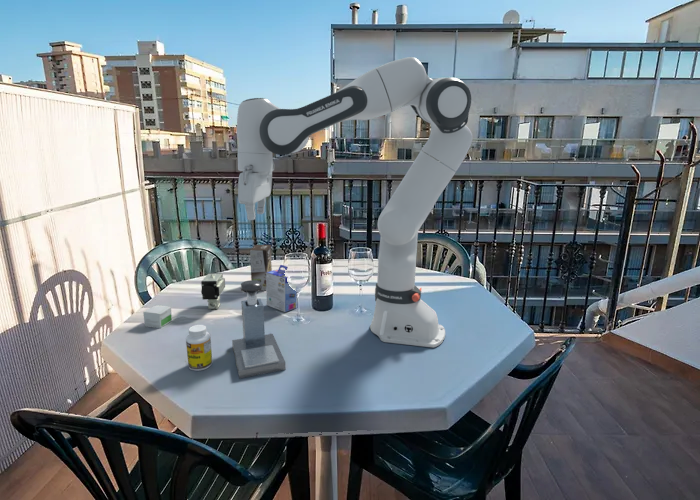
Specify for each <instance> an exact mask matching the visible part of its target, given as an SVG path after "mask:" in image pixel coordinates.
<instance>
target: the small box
mask: <svg viewBox="0 0 700 500" xmlns="http://www.w3.org/2000/svg"><path fill="white" fill-rule="evenodd" d="M142 314H143V321H144V323H143V324H144V327H147V326H149V327H148V328H155V327H156V329H161V328H162V327H164V326H166V325H167V324H169V323H170V322H173V314H172V307H171V306H167V305H161V304H160V305H158V304H155V305H154V306H151V307H149V308H148V309H146V310H144V311H143V313H142Z"/></svg>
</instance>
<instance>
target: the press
mask: <svg viewBox="0 0 700 500" xmlns="http://www.w3.org/2000/svg"><path fill="white" fill-rule="evenodd" d="M240 303H241V317H242V318H241V319H242V320H241V321H242V335H243V337H242V338H238V339H232V340H231V342H232V343H231V344H232V350H233V355H234V361H235V364H236V365H235V366H236V368H237V369H236V370H237V373H238V374H237V375H238V378H239V379H240V380H241V379H244V378H249V377H255V376H261V375H263V374H271V373H274V372H275V373H276V372H280V371H284V370H286V368H287V367H286V360H285V359H284V356H283V354H282V351H281V349H280V347H279V345H278V343H277V341H276V338H275V336H274V333H268V334H265V332H266V331H265V313H264V312H265V311H264V310H265V309H264V308H265V307H264V306H265V305H264V303H263V301H262V300H261V298H257V305H254V306H248V302H247V299H245V300H241V302H240Z"/></svg>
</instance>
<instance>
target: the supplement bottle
mask: <svg viewBox="0 0 700 500" xmlns="http://www.w3.org/2000/svg"><path fill="white" fill-rule="evenodd" d="M207 330H208V329H207V326H206V325H204V324H194V325H193V326H190V327H189V328H188V335H187V336H186V338H185V345H186V352H187V353H186V355H187V366H188V368H189V369H190V370H191V371H194V372H195V371H197V372H198V371H199V372H200V371H203V370H207V369H209V368H210V367H211V366H212V364H213V353H212V352H213V351H212V341H211V340H212V339H211V334H210V333H209V332H208V331H207Z"/></svg>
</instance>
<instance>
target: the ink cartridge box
mask: <svg viewBox="0 0 700 500" xmlns="http://www.w3.org/2000/svg"><path fill="white" fill-rule="evenodd" d="M284 269H285V270H287V271H288V266H286V265H283V264H280V265H279V267H278V269H274V270H273V269H272V271H270V272H267V273H266V290H265V291H266V293H265V294H266V306H268V307H270V308H273V309H276V310H279V311H281V312H283V313H286V312H289V311H292V310H296V309H297V290H296V291H295V290H293V289H292V288H291V287H290V286H289V284H288V282H287V277H286V276H285V274H284V273H285V270H284Z"/></svg>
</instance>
